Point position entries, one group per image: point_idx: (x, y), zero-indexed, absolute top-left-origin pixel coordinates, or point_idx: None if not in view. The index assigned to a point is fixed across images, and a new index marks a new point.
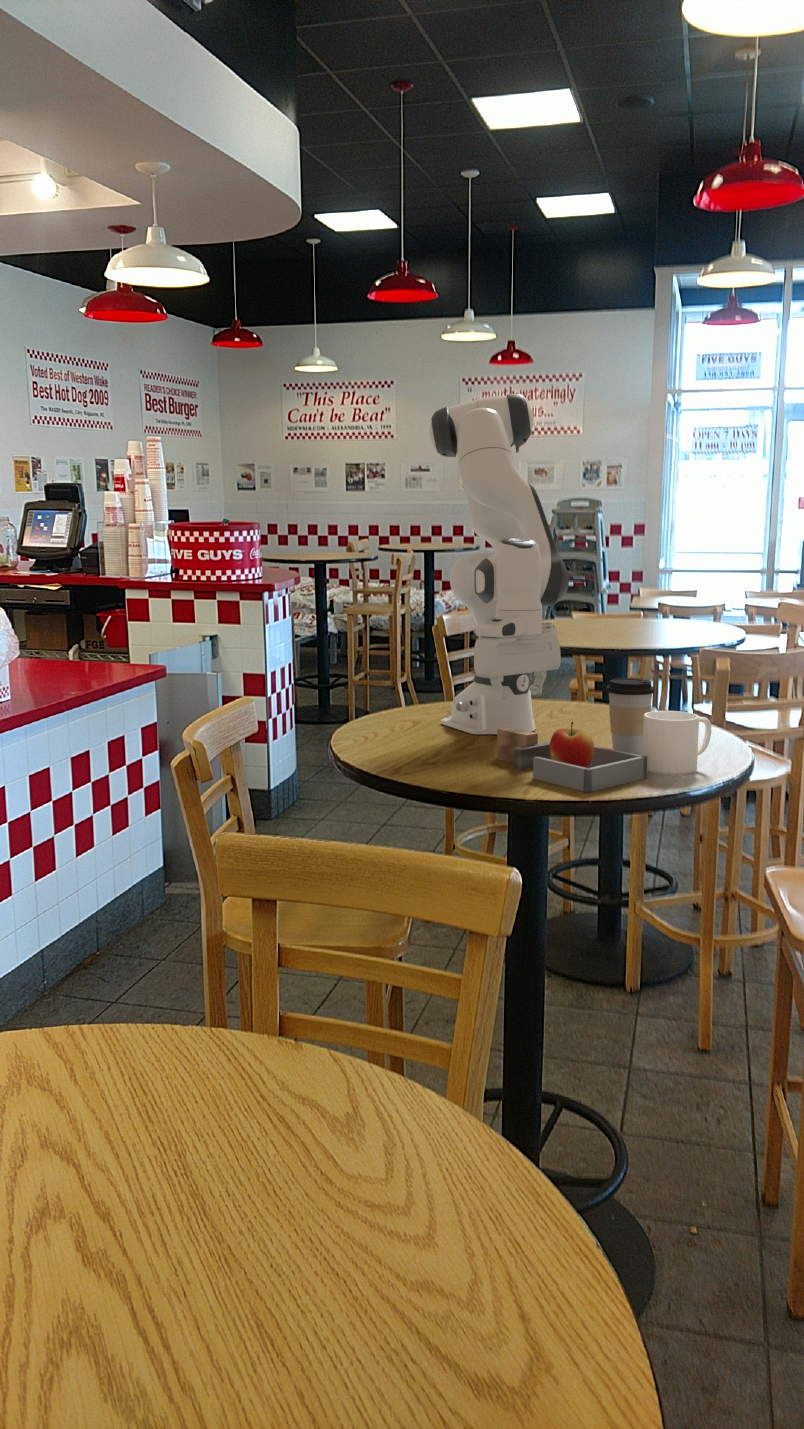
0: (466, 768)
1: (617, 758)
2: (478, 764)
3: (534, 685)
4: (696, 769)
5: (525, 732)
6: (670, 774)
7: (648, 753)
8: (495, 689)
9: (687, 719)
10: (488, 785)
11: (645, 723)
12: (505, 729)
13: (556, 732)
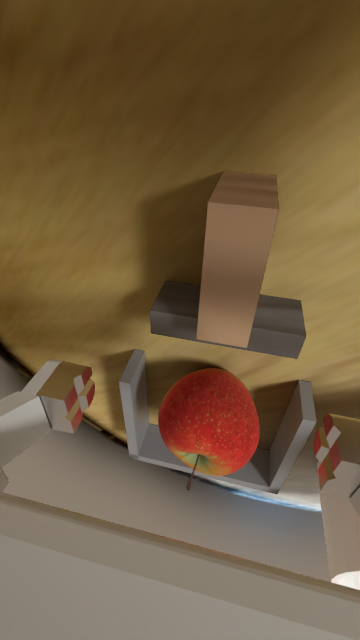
0: (71, 193)
1: (281, 450)
2: (125, 183)
3: (348, 478)
4: None
5: (229, 317)
6: None
7: None
8: (15, 400)
9: None
10: (39, 318)
11: (353, 549)
12: (224, 235)
13: (171, 440)
